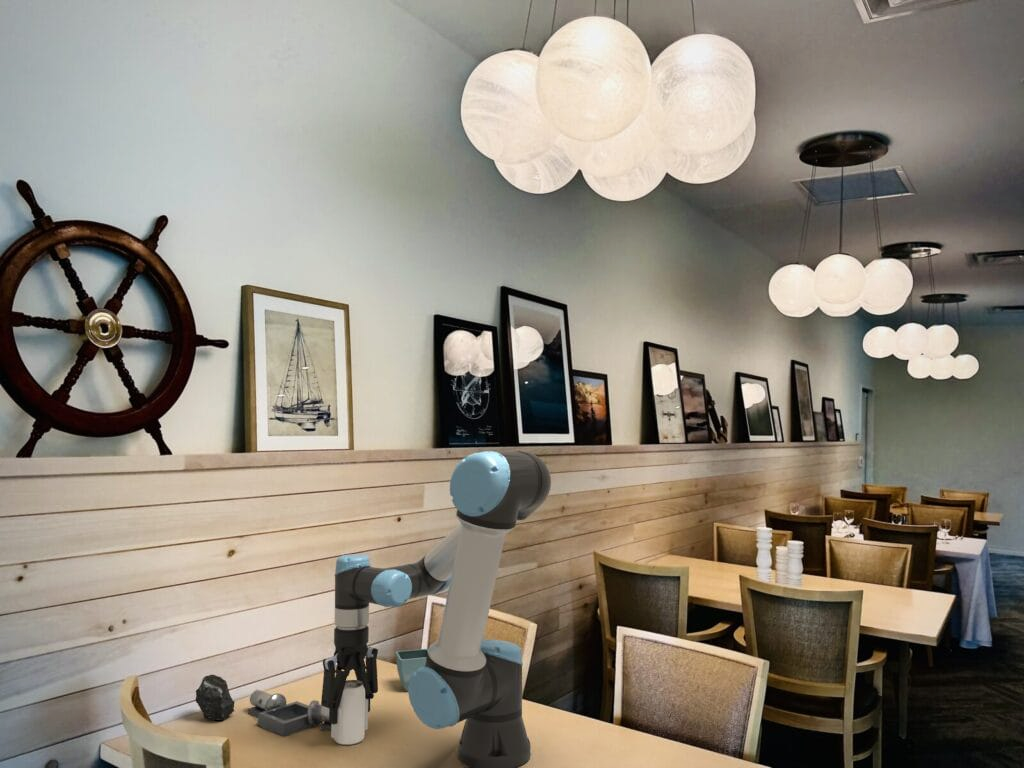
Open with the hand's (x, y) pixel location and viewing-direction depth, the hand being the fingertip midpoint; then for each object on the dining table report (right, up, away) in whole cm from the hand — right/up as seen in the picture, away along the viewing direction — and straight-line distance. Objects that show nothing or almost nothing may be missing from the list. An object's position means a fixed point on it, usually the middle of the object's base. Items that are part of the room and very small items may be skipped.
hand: (349, 733), depth 162 cm
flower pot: (+9, -5, +35) cm, 36 cm away
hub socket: (-16, -2, +9) cm, 18 cm away
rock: (-35, -3, +13) cm, 37 cm away
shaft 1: (-24, -3, +16) cm, 29 cm away
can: (0, -2, 0) cm, 2 cm away
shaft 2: (-6, -2, +7) cm, 10 cm away
